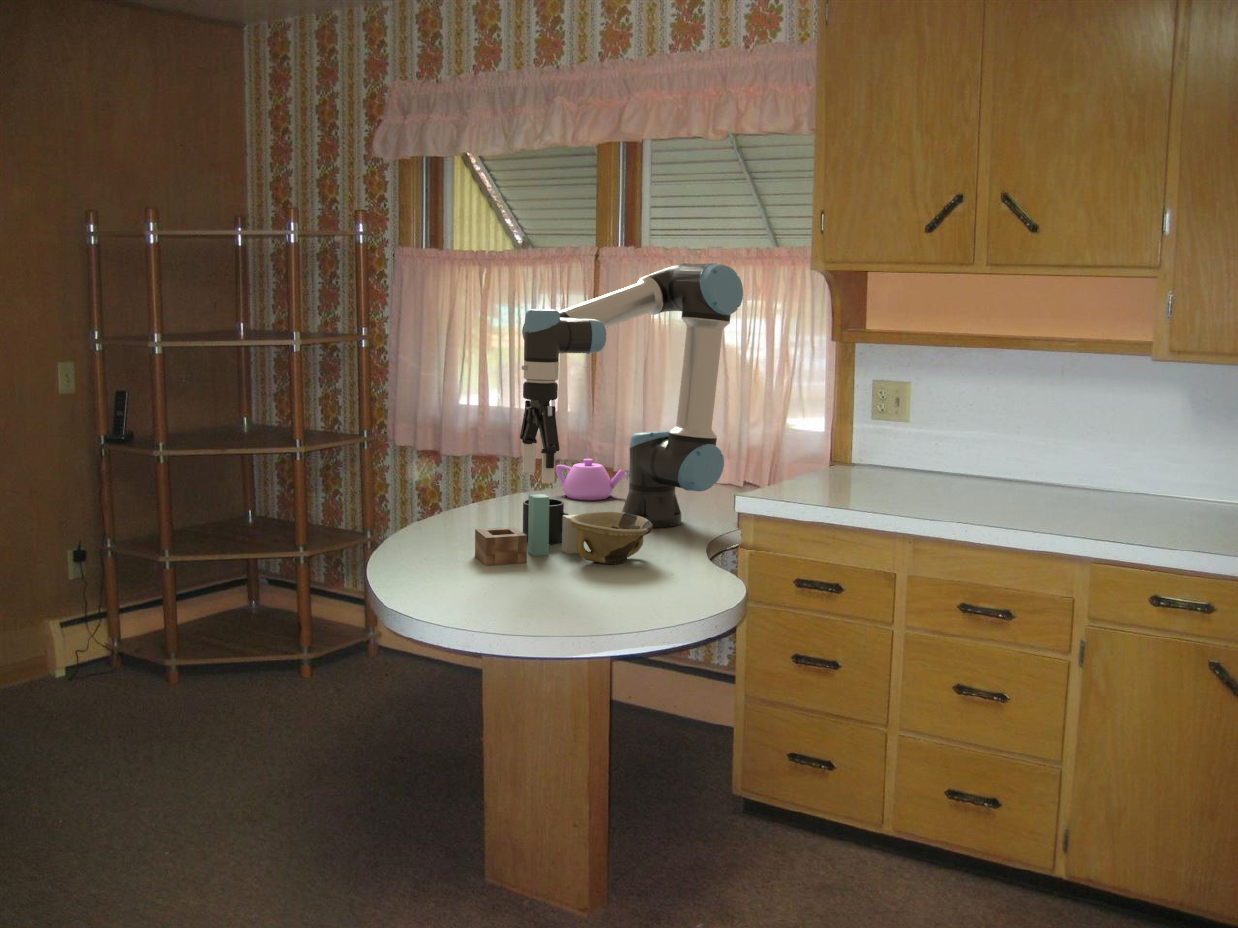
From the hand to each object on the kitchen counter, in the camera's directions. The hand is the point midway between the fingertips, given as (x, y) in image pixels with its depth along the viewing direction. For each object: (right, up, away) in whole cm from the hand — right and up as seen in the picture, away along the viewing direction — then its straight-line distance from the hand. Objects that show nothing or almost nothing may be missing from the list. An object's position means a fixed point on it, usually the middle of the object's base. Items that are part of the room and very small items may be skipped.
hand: (538, 477), depth 264 cm
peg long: (0, -17, +3) cm, 17 cm away
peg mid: (+7, -17, +6) cm, 19 cm away
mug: (+1, -15, +16) cm, 22 cm away
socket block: (-8, -18, -3) cm, 20 cm away
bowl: (+16, -18, -3) cm, 24 cm away
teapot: (+10, -6, +73) cm, 74 cm away
